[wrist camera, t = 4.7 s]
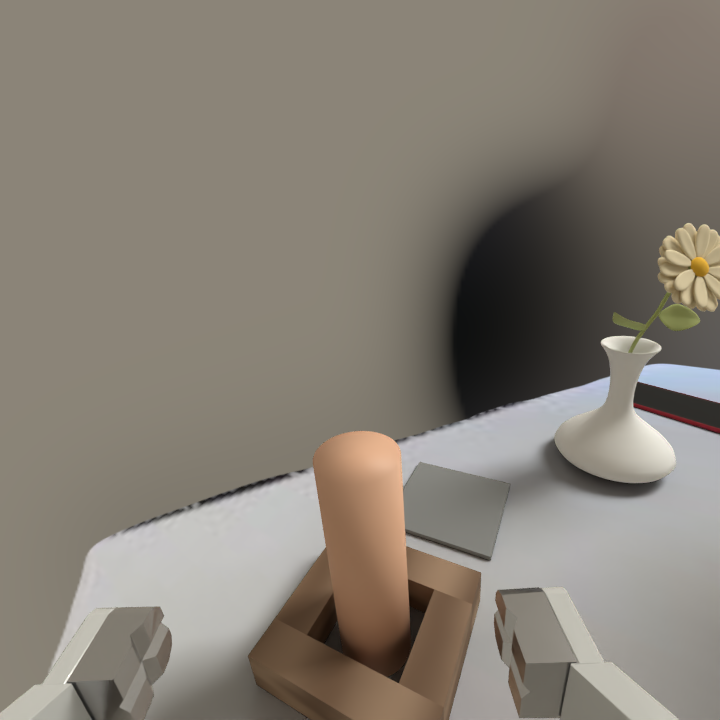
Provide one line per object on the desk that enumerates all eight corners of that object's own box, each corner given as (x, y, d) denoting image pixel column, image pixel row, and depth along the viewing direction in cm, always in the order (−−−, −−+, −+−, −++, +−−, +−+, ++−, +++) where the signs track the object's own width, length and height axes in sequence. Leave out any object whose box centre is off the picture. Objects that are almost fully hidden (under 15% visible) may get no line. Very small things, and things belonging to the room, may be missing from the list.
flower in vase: (570, 491, 40) (607, 237, 31) (542, 430, 51) (563, 225, 41) (717, 498, 38) (806, 224, 29) (656, 432, 48) (706, 215, 39)
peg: (421, 622, 29) (414, 440, 23) (394, 693, 25) (377, 495, 19) (361, 596, 32) (341, 424, 26) (328, 657, 28) (294, 471, 22)
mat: (509, 486, 42) (510, 483, 42) (490, 560, 34) (490, 556, 34) (419, 464, 46) (419, 461, 46) (384, 524, 38) (383, 521, 38)
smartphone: (632, 380, 60) (768, 415, 49) (631, 385, 60) (766, 422, 49) (609, 396, 56) (750, 438, 45) (608, 401, 57) (748, 445, 45)
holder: (479, 600, 31) (481, 572, 29) (428, 795, 21) (427, 765, 20) (345, 549, 36) (342, 524, 35) (256, 684, 26) (248, 655, 25)
